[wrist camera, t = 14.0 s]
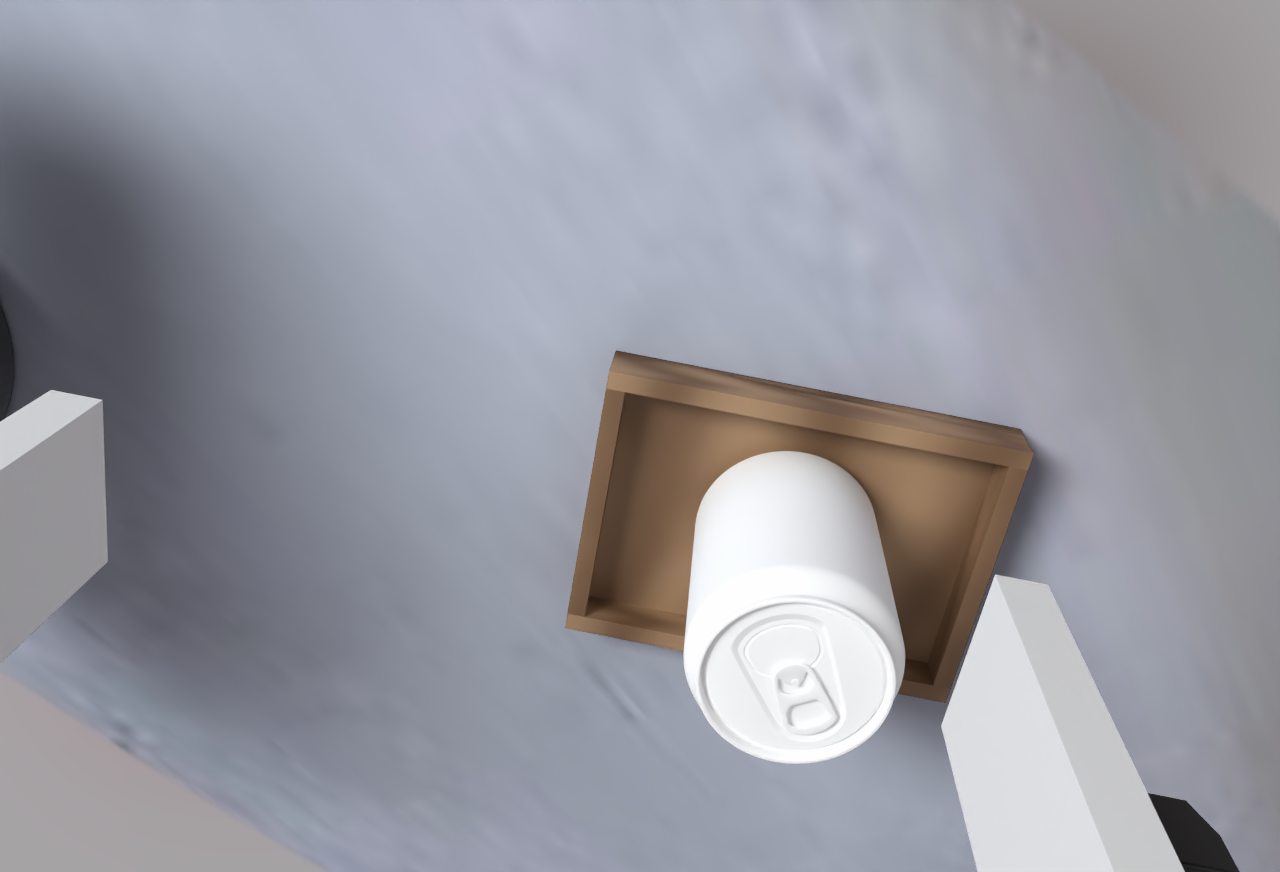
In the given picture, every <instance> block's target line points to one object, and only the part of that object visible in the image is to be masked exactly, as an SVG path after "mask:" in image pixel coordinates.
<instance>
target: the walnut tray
mask: <svg viewBox="0 0 1280 872" xmlns="http://www.w3.org/2000/svg"><path fill="white" fill-rule="evenodd" d="M776 451H796V452H803V453H808V454H812V455H816V456H819V457H822V458H824V459H827V460H829V461H831V462H833V463H835V464H836V465H838V466H840V467H841V468H843V469H844V470H845V471H847V472H848V473H849V474H850V475H851V476H852V477H854V479H855V480H856V481H857V482H858V483H859V484H860V485H861V487H862V488H863V489H864V491H865V492H866V494H867V496H868V498H869V500H870V502H871V504H872V507H873V510H874V514H875V518H876V522H877V526H878V531H879V535H880V540H881V544H882V548H883V553H884V557H885V562H886V566H887V570H888V575H889V579H890V584H891V588H892V592H893V597H894V601H895V606H896V610H897V614H898V619H899V623H900V628H901V632H902V637H903V641H904V647H905V668H904V675H903V679H902V683H901V686H900V688H899V691H898V694H903V695H908V696H913V697H918V698H923V699H928V700H933V701H938V702H944V703H946V700H947V697H948V695H949V692H950V689H951V686H952V683H953V680H954V678H955V675H956V672H957V669H958V666H959V663H960V661H961V658H962V655H963V652H964V649H965V647H966V644H967V641H968V638H969V635H970V632H971V630H972V627H973V624H974V621H975V618H976V616H977V613H978V610H979V607H980V604H981V601H982V599H983V596H984V593H985V590H986V587H987V585H988V582H989V579H990V576H991V573H992V570H993V568H994V565H995V562H996V559H997V556H998V553H999V551H1000V548H1001V545H1002V542H1003V539H1004V537H1005V534H1006V531H1007V528H1008V525H1009V522H1010V520H1011V517H1012V514H1013V511H1014V508H1015V506H1016V503H1017V500H1018V497H1019V494H1020V491H1021V489H1022V486H1023V483H1024V480H1025V477H1026V475H1027V472H1028V469H1029V466H1030V463H1031V460H1032V458H1033V455H1034V453H1033V451H1032V449H1031V447H1030V446H1029V444H1028V442H1027V440H1026V439H1025V437H1024V435H1023V433H1022V432H1021V430H1020V429H1018V428H1013V427H1008V426H1002V425H997V424H992V423H987V422H982V421H977V420H971V419H966V418H961V417H956V416H951V415H946V414H940V413H935V412H930V411H925V410H920V409H915V408H910V407H904V406H899V405H894V404H889V403H884V402H879V401H873V400H868V399H863V398H858V397H853V396H848V395H842V394H837V393H832V392H827V391H822V390H817V389H811V388H806V387H801V386H796V385H791V384H786V383H781V382H775V381H770V380H765V379H760V378H755V377H750V376H744V375H739V374H734V373H729V372H724V371H719V370H713V369H708V368H703V367H698V366H693V365H688V364H682V363H677V362H672V361H667V360H662V359H657V358H651V357H646V356H641V355H636V354H631V353H626V352H621V351H616V352H615V355H614V358H613V361H612V364H611V367H610V370H609V375H608V381H607V387H606V393H605V399H604V405H603V410H602V416H601V422H600V428H599V434H598V439H597V445H596V451H595V457H594V463H593V469H592V474H591V480H590V486H589V492H588V498H587V504H586V509H585V515H584V521H583V527H582V533H581V539H580V544H579V550H578V556H577V562H576V568H575V574H574V579H573V585H572V591H571V597H570V603H569V608H568V614H567V620H566V626H565V628H568V629H573V630H578V631H583V632H588V633H593V634H599V635H604V636H609V637H614V638H619V639H624V640H629V641H634V642H639V643H644V644H649V645H654V646H659V647H664V648H670V649H675V650H680V651H684V641H685V630H686V619H687V608H688V598H689V587H690V576H691V565H692V554H693V544H694V533H695V523H696V517H697V513H698V509H699V506H700V504H701V501H702V499H703V497H704V496H705V494H706V492H707V491H708V489H709V488H710V486H711V485H712V484H713V483H714V482H715V481H716V480H717V478H718V477H720V476H721V475H722V474H723V473H724V472H725V471H727V470H728V469H729V468H731V467H732V466H734V465H736V464H737V463H739V462H741V461H743V460H745V459H748V458H750V457H753V456H756V455H760V454H764V453H769V452H776Z"/></svg>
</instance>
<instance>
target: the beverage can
mask: <svg viewBox="0 0 1280 872" xmlns="http://www.w3.org/2000/svg"><path fill="white" fill-rule="evenodd" d="M684 668H685V674H686V678H687V681H688V684H689V687H690V689H691V692H692V694H693V696H694V698H695V699H696V701H697V703H698V704H699V706H700V707H701V709H702V711H703V713H704V715H705V717H706V719H707V720H708V722H709V723H710V724H711V726H712V727H713V728H714V729H715V730H716V731H717V733H719V734H720V735H721V736H722V737H723V738H724V739H725V740H726V741H728V742H729V743H730V744H732V745H733V746H735V747H736V748H738V749H740V750H742V751H744V752H746V753H748V754H750V755H753V756H755V757H758V758H761V759H764V760H768V761H773V762H779V763H788V764H806V763H815V762H820V761H825V760H829V759H832V758H835V757H838V756H841V755H843V754H845V753H847V752H849V751H851V750H853V749H855V748H856V747H858V746H860V745H861V744H862V743H864V742H865V741H866V740H868V739H869V738H870V737H871V736H872V735H873V734H874V733H875V732H876V731H877V730H878V729H879V727H880V726H881V725H882V723H883V722H884V721H885V719H886V717H887V716H888V714H889V712H890V709H891V707H892V704H893V701H894V699H895V697H896V695H897V693H898V691H899V688H900V686H901V683H902V679H903V675H904V668H905V647H904V641H903V637H902V632H901V628H900V623H899V619H898V614H897V610H896V606H895V601H894V597H893V592H892V588H891V584H890V579H889V575H888V570H887V566H886V562H885V557H884V553H883V548H882V544H881V540H880V535H879V531H878V526H877V522H876V518H875V514H874V510H873V507H872V504H871V502H870V500H869V498H868V496H867V494H866V492H865V491H864V489H863V488H862V487H861V485H860V484H859V483H858V482H857V481H856V480H855V479H854V477H852V476H851V475H850V474H849V473H848V472H847V471H845V470H844V469H843V468H841V467H840V466H838V465H836V464H835V463H833V462H831V461H829V460H827V459H824V458H822V457H819V456H816V455H812V454H808V453H803V452H796V451H776V452H769V453H764V454H760V455H756V456H753V457H750V458H748V459H745V460H743V461H741V462H739V463H737V464H736V465H734V466H732V467H731V468H729V469H728V470H727V471H725V472H724V473H723V474H722V475H721V476H720V477H718V478H717V480H716V481H715V482H714V483H713V484H712V485H711V486H710V488H709V489H708V491H707V492H706V494H705V496H704V497H703V499H702V501H701V504H700V506H699V509H698V513H697V517H696V523H695V533H694V544H693V554H692V565H691V576H690V587H689V598H688V608H687V619H686V630H685V641H684Z"/></svg>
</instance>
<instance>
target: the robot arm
mask: <svg viewBox="0 0 1280 872" xmlns="http://www.w3.org/2000/svg"><path fill="white" fill-rule="evenodd" d="M12 385H13V354H12V346H11V340H10V335H9V331H8V328H7V324H6V321H5V318H4V315H3V312H2V310H1V307H0V664H1V663H2V662H3V661H4V660H5V659H6V658H7V657H8V656H9V655H10V654H11V653H12V652H13V651H14V650H15V649H16V648H17V647H18V646H20V645H21V644H22V643H23V642H24V641H25V640H26V639H27V638H28V637H29V636H30V635H31V634H32V633H33V632H34V631H35V630H36V629H37V628H39V627H40V626H41V625H42V624H43V623H44V622H45V621H46V620H47V619H48V618H49V617H50V616H51V615H52V614H53V613H54V612H55V611H56V610H57V609H59V608H60V607H61V606H62V605H63V604H64V603H65V602H66V601H67V600H68V599H69V598H70V597H71V596H72V595H73V594H74V593H75V592H76V591H78V590H79V589H80V588H81V587H82V586H83V585H84V584H85V583H86V582H87V581H88V580H89V579H90V578H91V577H92V576H93V575H94V574H95V573H97V572H98V571H99V570H100V569H101V568H102V567H103V566H104V565H105V564H106V563H107V562H108V548H107V518H106V487H105V457H104V426H103V400H101V399H96V398H90V397H85V396H80V395H75V394H70V393H65V392H60V391H55V390H50V391H48V392H47V393H45V394H44V395H42V396H40V397H39V398H37V399H36V400H34V401H32V402H31V403H29V404H28V405H26V406H24V407H23V408H21V409H20V410H18V411H16V412H15V413H13V414H12V415H10V416H8V417H7V418H5V419H4V420H3V417H4V415H5V413H6V410H7V407H8V404H9V401H10V396H11V392H12ZM941 728H942V732H943V736H944V739H945V743H946V747H947V751H948V755H949V759H950V763H951V767H952V771H953V775H954V779H955V783H956V787H957V791H958V795H959V799H960V803H961V807H962V811H963V815H964V819H965V823H966V827H967V831H968V835H969V839H970V843H971V847H972V851H973V855H974V859H975V863H976V867H977V871H978V872H1239V870H1238V868H1237V866H1236V864H1235V863H1234V861H1233V859H1232V857H1231V855H1230V853H1229V851H1228V850H1227V848H1226V846H1225V844H1224V842H1223V840H1222V838H1221V837H1220V835H1219V834H1218V833H1217V832H1216V831H1215V830H1214V829H1213V828H1212V827H1211V826H1210V825H1209V824H1208V823H1207V822H1206V821H1205V820H1204V819H1203V818H1202V817H1201V816H1200V815H1199V814H1198V813H1197V812H1196V811H1195V810H1194V809H1193V808H1192V806H1191V805H1190V804H1189V803H1188V802H1187V801H1185V800H1180V799H1175V798H1170V797H1165V796H1160V795H1154V794H1149V793H1147V791H1146V789H1145V787H1144V785H1143V783H1142V781H1141V779H1140V777H1139V775H1138V773H1137V770H1136V768H1135V766H1134V764H1133V762H1132V760H1131V758H1130V756H1129V754H1128V752H1127V749H1126V747H1125V745H1124V743H1123V741H1122V739H1121V737H1120V735H1119V733H1118V731H1117V729H1116V726H1115V724H1114V722H1113V720H1112V718H1111V716H1110V714H1109V712H1108V710H1107V708H1106V705H1105V703H1104V701H1103V699H1102V697H1101V695H1100V693H1099V691H1098V689H1097V687H1096V685H1095V682H1094V680H1093V678H1092V676H1091V674H1090V672H1089V670H1088V668H1087V666H1086V664H1085V661H1084V659H1083V657H1082V655H1081V653H1080V651H1079V649H1078V647H1077V645H1076V643H1075V641H1074V638H1073V636H1072V634H1071V632H1070V630H1069V628H1068V626H1067V624H1066V622H1065V620H1064V617H1063V615H1062V613H1061V611H1060V609H1059V607H1058V605H1057V603H1056V601H1055V599H1054V597H1053V594H1052V592H1051V590H1050V588H1049V586H1048V585H1047V584H1042V583H1037V582H1032V581H1026V580H1021V579H1016V578H1011V577H1006V576H1001V575H996V574H995V576H994V579H993V582H992V585H991V588H990V590H989V593H988V596H987V599H986V602H985V604H984V607H983V610H982V613H981V616H980V618H979V621H978V624H977V627H976V630H975V632H974V635H973V638H972V641H971V644H970V646H969V649H968V652H967V655H966V658H965V661H964V663H963V666H962V669H961V672H960V675H959V677H958V680H957V683H956V686H955V689H954V691H953V694H952V697H951V700H950V703H949V705H948V708H947V711H946V714H945V717H944V719H943V722H942V725H941Z"/></svg>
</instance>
